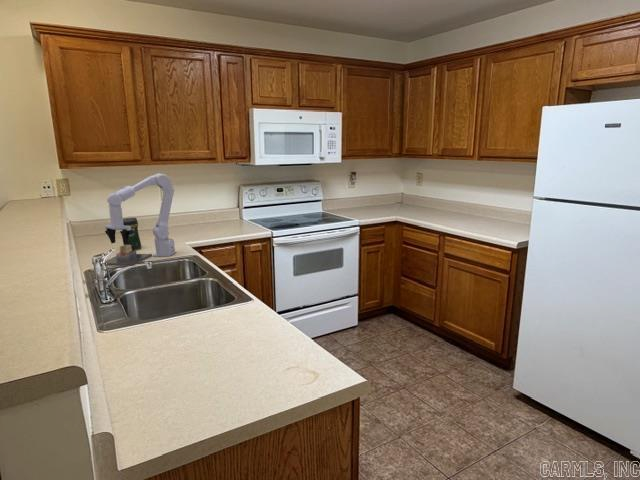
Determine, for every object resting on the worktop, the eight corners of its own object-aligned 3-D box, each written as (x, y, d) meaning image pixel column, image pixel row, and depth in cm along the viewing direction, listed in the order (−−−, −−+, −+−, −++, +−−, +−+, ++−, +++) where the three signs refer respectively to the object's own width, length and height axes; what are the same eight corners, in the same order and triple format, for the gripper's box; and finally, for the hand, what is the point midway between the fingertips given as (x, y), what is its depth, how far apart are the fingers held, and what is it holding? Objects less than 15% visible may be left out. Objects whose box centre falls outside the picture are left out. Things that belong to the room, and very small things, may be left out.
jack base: (152, 255, 224) (151, 248, 223) (134, 265, 206) (132, 257, 205) (121, 256, 226) (120, 248, 225) (100, 265, 208) (99, 257, 207)
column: (132, 256, 217) (131, 244, 216) (128, 258, 213) (126, 246, 212) (125, 256, 218) (123, 244, 216) (121, 258, 214) (119, 246, 212)
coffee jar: (141, 246, 246) (137, 216, 242) (141, 249, 239) (137, 218, 234) (124, 248, 242) (119, 217, 238) (123, 251, 235) (118, 219, 231)
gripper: (98, 218, 208) (102, 244, 211) (122, 219, 204) (125, 245, 207) (109, 216, 214) (112, 241, 217) (132, 217, 210) (135, 242, 213)
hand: (119, 243), depth 212 cm, fingers open, 7 cm apart
